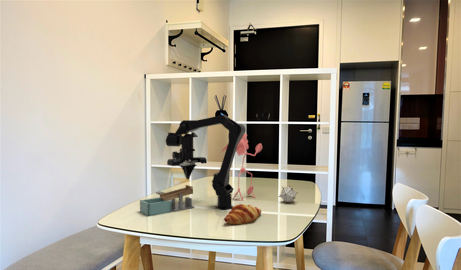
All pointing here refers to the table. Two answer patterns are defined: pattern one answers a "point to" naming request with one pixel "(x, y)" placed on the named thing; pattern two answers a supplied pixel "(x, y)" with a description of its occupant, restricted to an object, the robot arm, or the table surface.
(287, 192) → the grey spiked polyhedron
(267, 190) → the table surface
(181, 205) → the stand
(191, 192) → the lever
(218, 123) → the robot arm
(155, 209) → the bin
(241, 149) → the figurine
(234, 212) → the croissant
